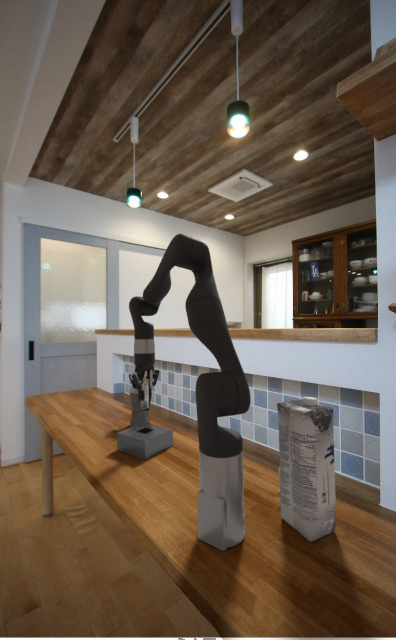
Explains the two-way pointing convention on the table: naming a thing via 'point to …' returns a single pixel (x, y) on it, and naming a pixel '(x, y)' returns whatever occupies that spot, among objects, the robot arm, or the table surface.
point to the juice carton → (307, 467)
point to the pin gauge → (145, 396)
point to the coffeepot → (138, 410)
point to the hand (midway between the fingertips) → (145, 399)
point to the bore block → (145, 440)
